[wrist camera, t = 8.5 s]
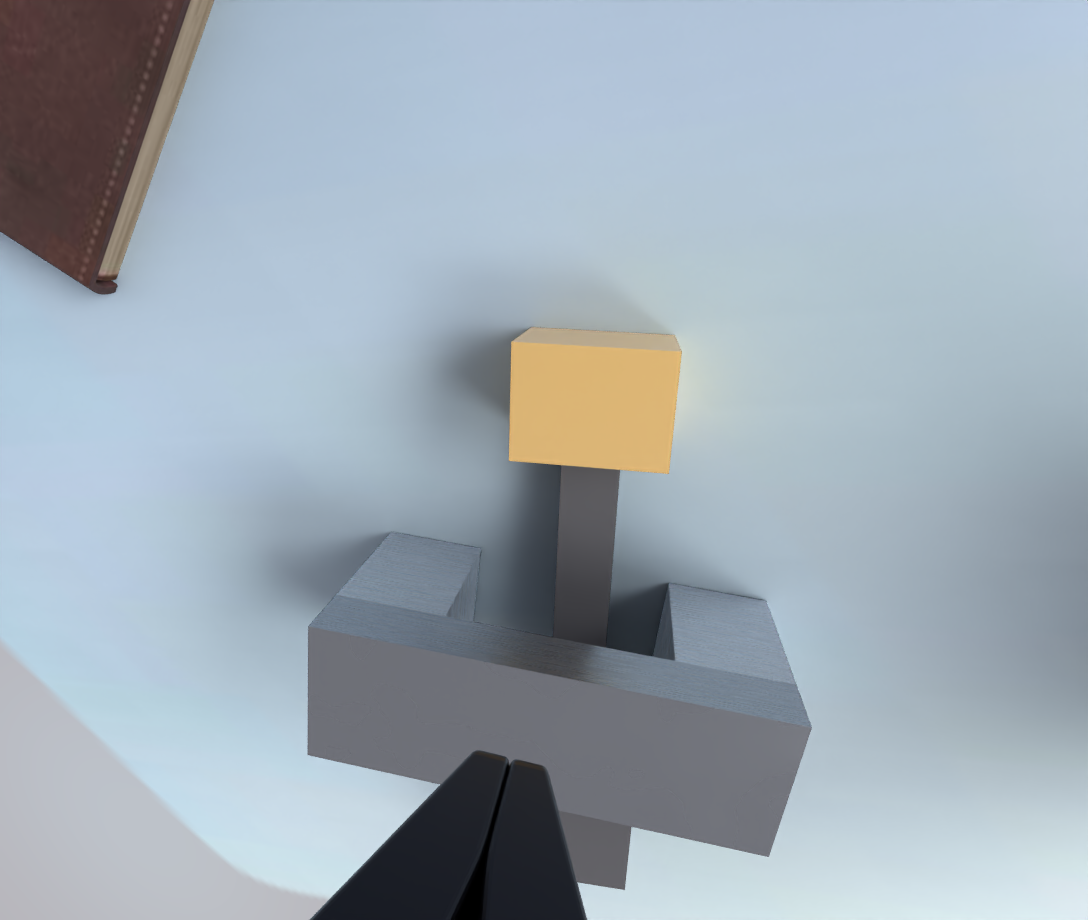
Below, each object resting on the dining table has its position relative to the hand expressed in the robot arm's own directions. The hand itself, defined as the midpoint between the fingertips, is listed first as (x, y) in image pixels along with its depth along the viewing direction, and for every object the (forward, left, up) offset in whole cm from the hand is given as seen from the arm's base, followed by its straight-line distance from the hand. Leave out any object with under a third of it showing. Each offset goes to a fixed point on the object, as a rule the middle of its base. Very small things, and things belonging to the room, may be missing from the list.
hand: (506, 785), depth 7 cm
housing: (0, +6, -12) cm, 14 cm away
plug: (-1, +5, -12) cm, 13 cm away
